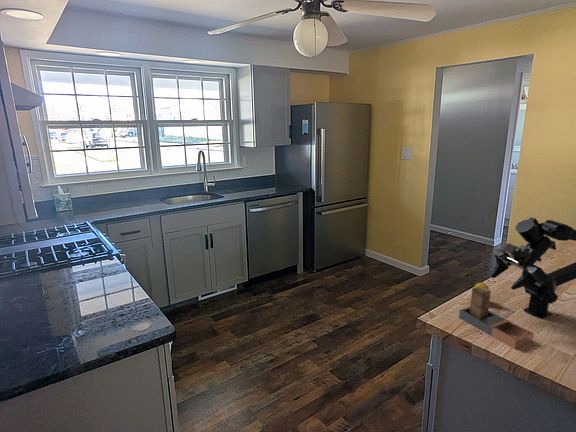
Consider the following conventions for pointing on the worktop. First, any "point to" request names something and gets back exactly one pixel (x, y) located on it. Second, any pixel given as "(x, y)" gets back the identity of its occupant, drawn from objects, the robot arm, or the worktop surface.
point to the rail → (498, 328)
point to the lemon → (481, 285)
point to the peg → (480, 302)
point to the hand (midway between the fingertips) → (501, 282)
